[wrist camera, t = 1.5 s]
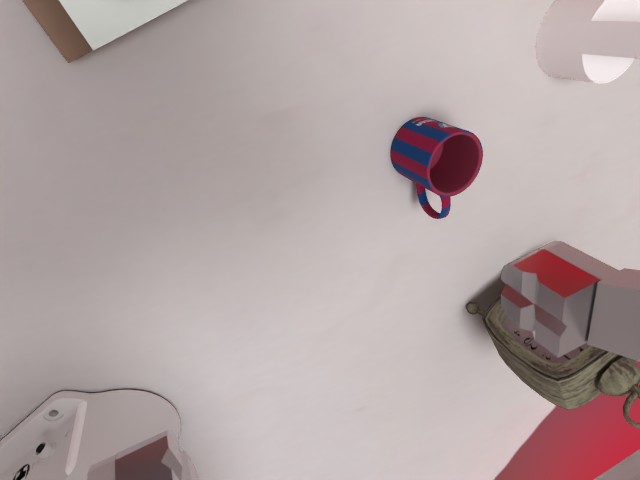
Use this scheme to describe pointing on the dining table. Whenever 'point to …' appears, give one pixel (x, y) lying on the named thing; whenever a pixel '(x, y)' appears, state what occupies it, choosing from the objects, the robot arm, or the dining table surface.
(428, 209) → the mug
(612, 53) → the cylinder with rectangular tab
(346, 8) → the dining table surface
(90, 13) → the cover
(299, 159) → the dining table surface
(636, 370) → the tabletop clock
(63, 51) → the housing
